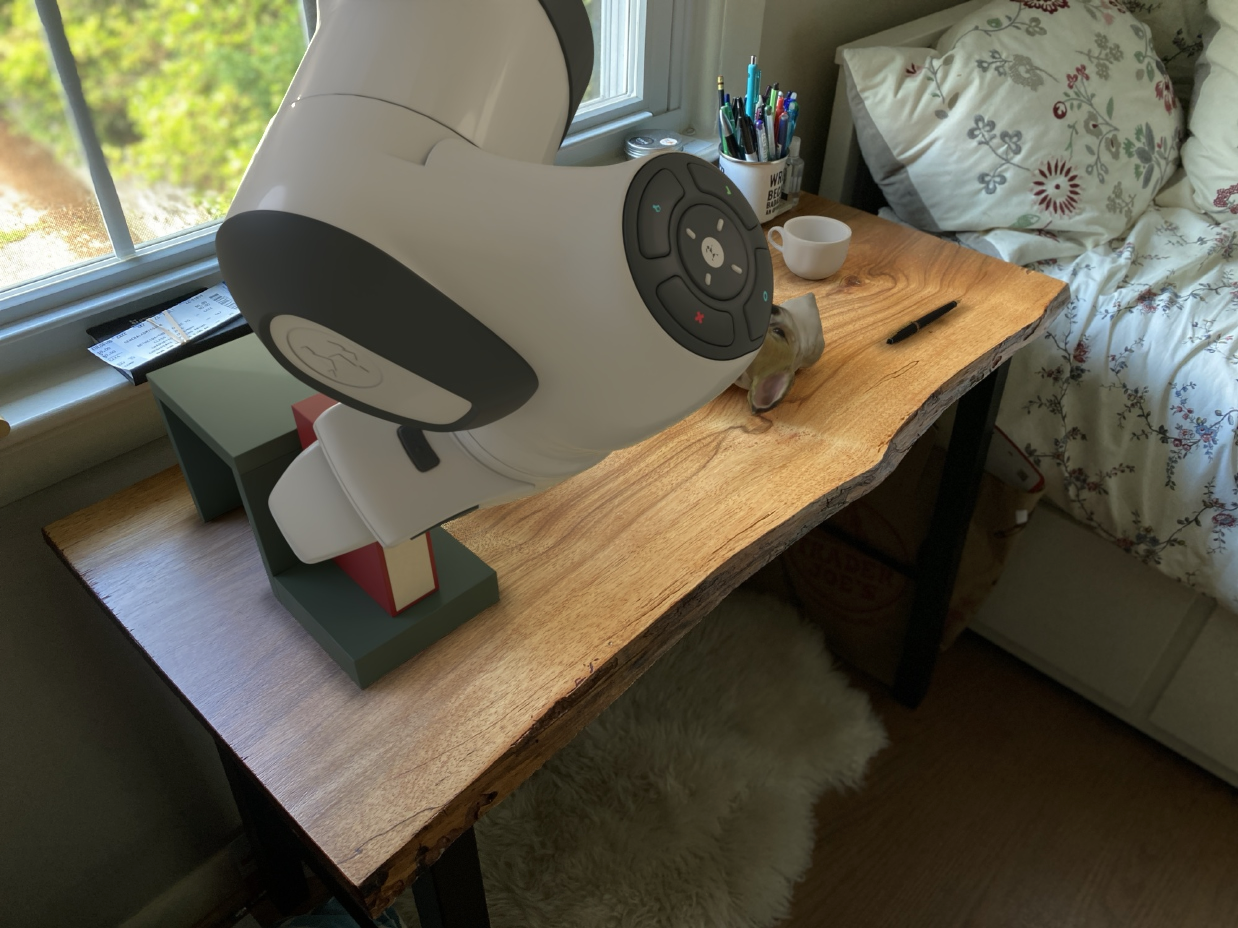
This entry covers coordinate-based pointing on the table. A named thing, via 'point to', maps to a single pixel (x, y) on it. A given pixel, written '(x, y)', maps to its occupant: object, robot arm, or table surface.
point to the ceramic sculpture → (783, 353)
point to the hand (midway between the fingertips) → (422, 469)
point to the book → (375, 569)
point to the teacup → (813, 245)
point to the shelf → (246, 474)
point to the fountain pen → (919, 323)
